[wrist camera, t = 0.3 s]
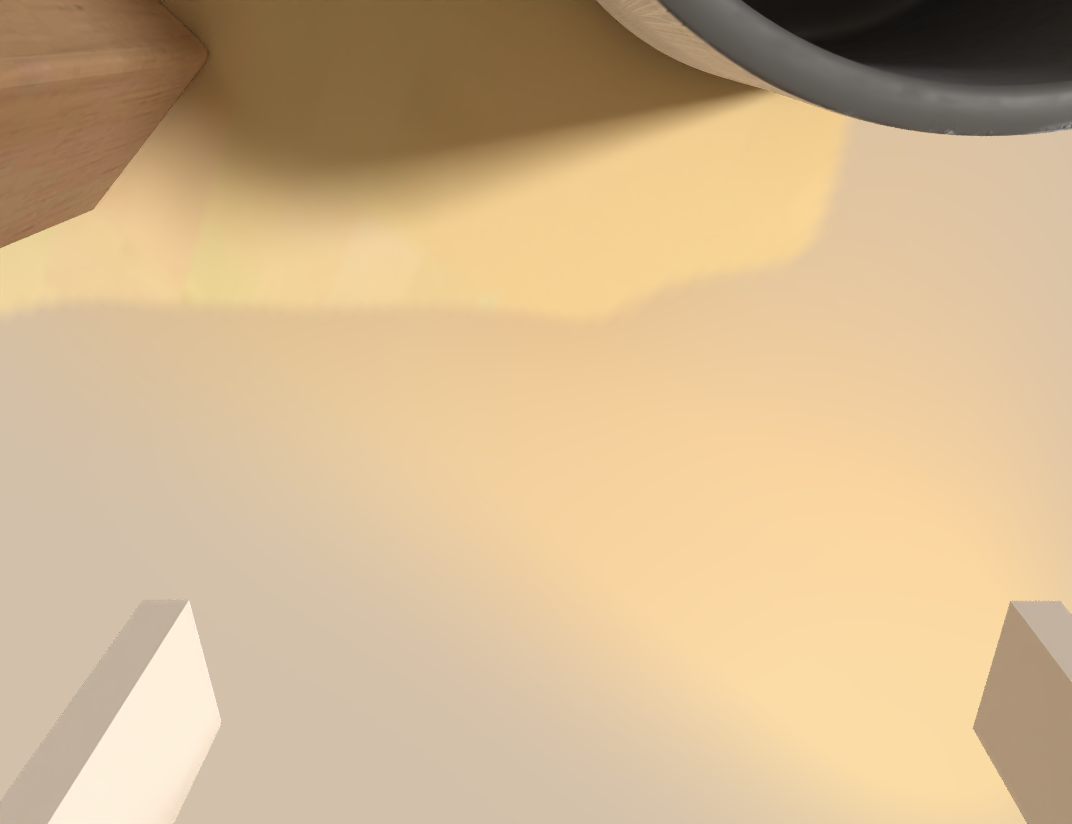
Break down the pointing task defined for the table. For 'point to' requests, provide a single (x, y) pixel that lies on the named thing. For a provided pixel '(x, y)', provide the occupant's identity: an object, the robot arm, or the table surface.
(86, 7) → the wooden block
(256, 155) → the table surface
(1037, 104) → the planter
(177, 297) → the table surface
